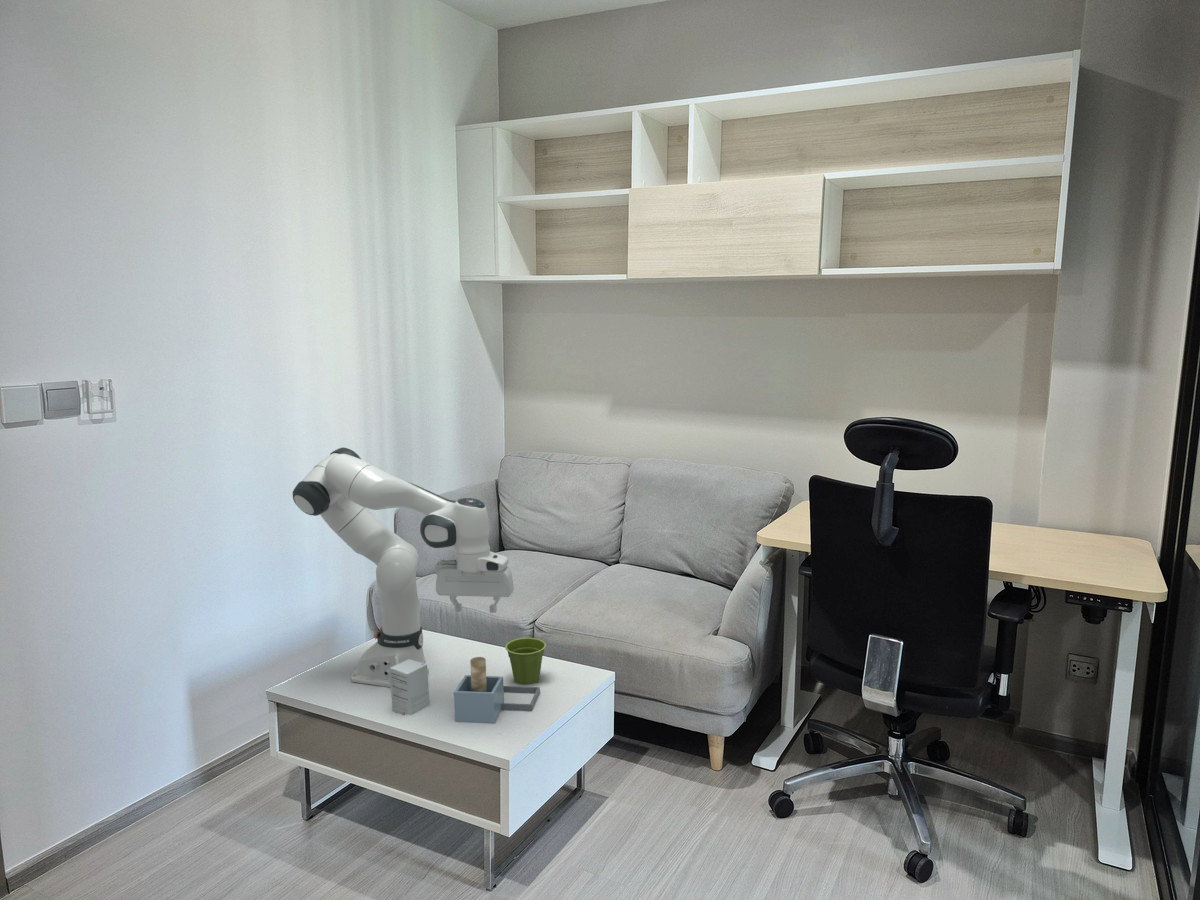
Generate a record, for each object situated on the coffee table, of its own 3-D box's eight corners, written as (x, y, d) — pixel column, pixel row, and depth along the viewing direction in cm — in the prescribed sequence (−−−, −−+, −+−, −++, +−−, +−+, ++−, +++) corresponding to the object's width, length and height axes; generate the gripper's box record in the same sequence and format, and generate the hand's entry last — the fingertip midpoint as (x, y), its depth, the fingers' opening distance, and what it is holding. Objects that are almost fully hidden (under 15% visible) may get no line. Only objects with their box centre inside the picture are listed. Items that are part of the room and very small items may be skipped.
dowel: (470, 716, 222) (468, 662, 220) (474, 709, 226) (472, 656, 224) (485, 716, 222) (483, 663, 219) (489, 710, 226) (487, 657, 223)
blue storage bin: (455, 724, 220) (453, 692, 218) (466, 706, 230) (465, 675, 229) (494, 726, 218) (493, 693, 217) (504, 707, 229) (503, 676, 227)
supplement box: (411, 701, 234) (409, 658, 232) (430, 707, 230) (428, 664, 228) (391, 711, 228) (388, 667, 226) (410, 718, 224) (407, 673, 222)
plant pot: (498, 686, 242) (497, 649, 241) (521, 670, 253) (519, 635, 251) (533, 694, 237) (532, 656, 235) (554, 678, 247) (553, 641, 245)
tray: (491, 712, 226) (490, 703, 226) (501, 693, 237) (500, 685, 237) (531, 713, 225) (531, 705, 224) (540, 695, 236) (539, 687, 235)
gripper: (430, 563, 216) (433, 614, 218) (508, 564, 213) (510, 616, 215) (438, 556, 222) (441, 606, 224) (514, 557, 219) (515, 608, 221)
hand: (475, 611), depth 220 cm, fingers open, 8 cm apart
